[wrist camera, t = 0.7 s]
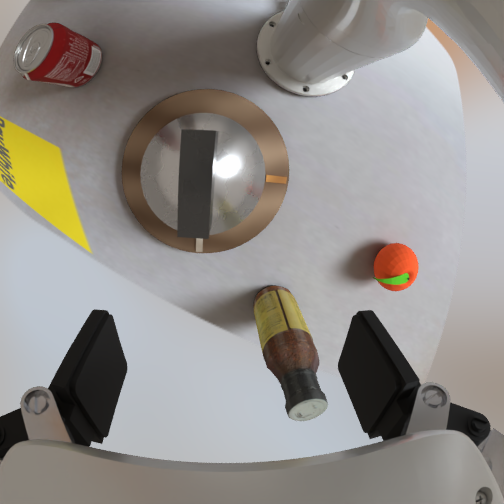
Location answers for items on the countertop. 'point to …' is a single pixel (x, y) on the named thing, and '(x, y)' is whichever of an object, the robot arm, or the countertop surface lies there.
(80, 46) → the soda can
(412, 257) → the clementine
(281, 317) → the sauce bottle
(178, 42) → the countertop surface
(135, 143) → the base
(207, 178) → the dial
